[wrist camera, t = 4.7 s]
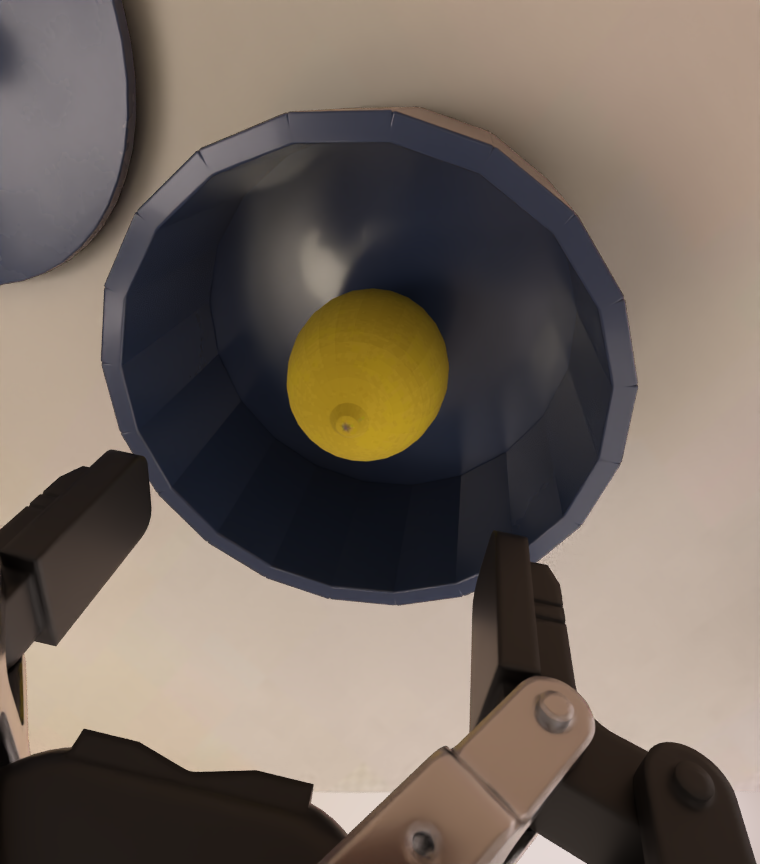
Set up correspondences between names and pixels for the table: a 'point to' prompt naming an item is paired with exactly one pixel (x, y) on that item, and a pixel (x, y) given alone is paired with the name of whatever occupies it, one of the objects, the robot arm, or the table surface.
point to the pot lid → (61, 128)
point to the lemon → (367, 374)
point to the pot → (356, 270)
